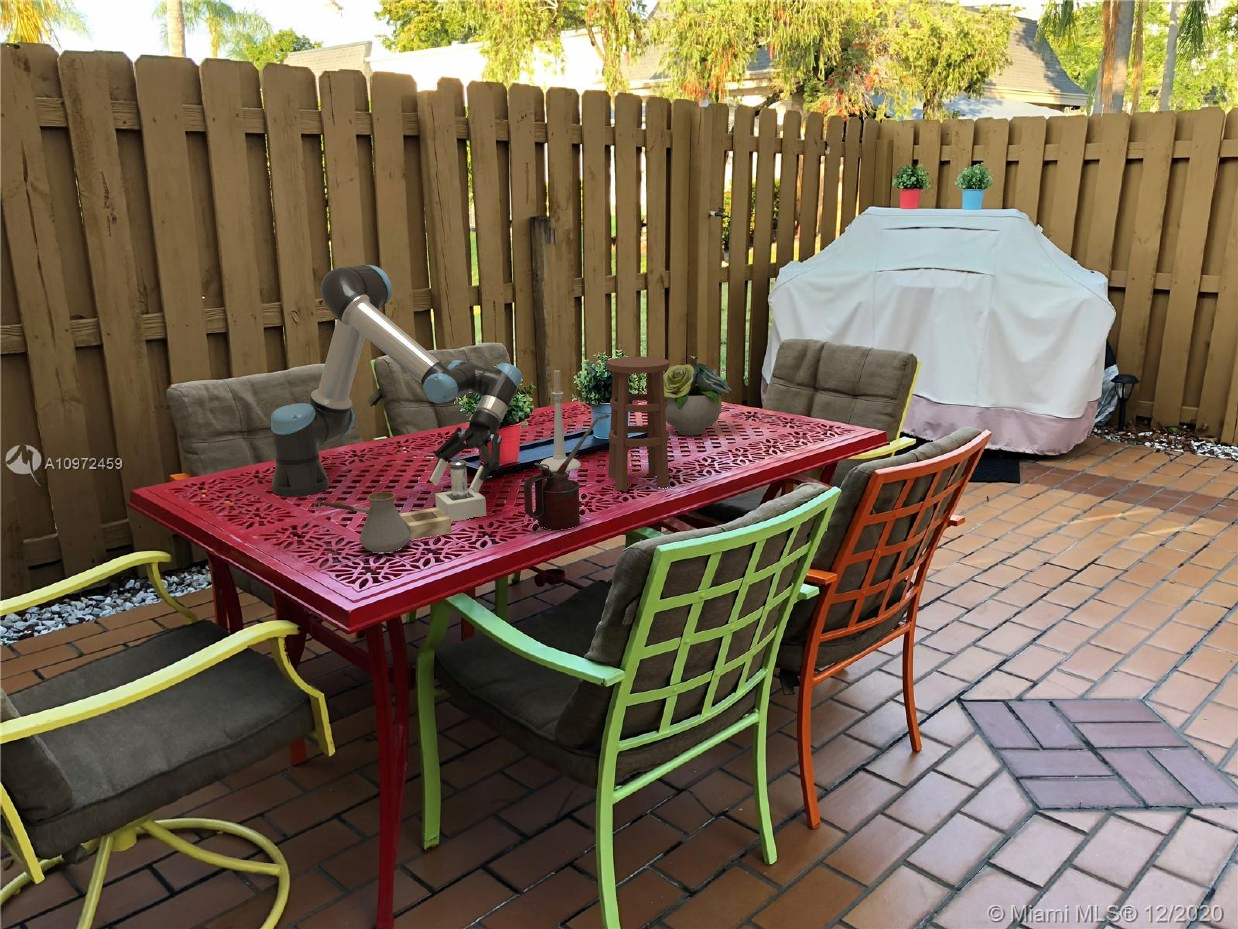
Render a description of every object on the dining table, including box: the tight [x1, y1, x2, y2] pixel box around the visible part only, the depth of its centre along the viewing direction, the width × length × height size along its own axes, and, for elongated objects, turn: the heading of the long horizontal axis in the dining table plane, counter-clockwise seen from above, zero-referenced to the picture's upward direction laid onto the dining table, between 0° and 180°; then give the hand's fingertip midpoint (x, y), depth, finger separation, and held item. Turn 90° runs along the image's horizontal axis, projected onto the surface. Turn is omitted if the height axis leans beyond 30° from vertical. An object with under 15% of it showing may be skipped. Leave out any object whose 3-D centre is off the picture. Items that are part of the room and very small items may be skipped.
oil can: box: [523, 414, 611, 531], centre depth 220 cm, size 28×11×25 cm, turn 136°
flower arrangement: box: [663, 362, 733, 436], centre depth 304 cm, size 25×25×24 cm
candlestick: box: [539, 369, 582, 473], centre depth 265 cm, size 13×13×30 cm
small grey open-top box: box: [434, 487, 487, 522], centre depth 227 cm, size 10×10×5 cm
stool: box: [605, 356, 670, 491], centre depth 247 cm, size 20×35×20 cm
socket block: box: [399, 506, 452, 541], centre depth 215 cm, size 10×10×4 cm
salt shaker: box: [449, 459, 468, 501], centre depth 226 cm, size 4×4×14 cm
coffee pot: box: [313, 491, 410, 552], centre depth 200 cm, size 21×12×15 cm, turn 131°
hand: (453, 486), depth 223 cm, fingers open, 13 cm apart
